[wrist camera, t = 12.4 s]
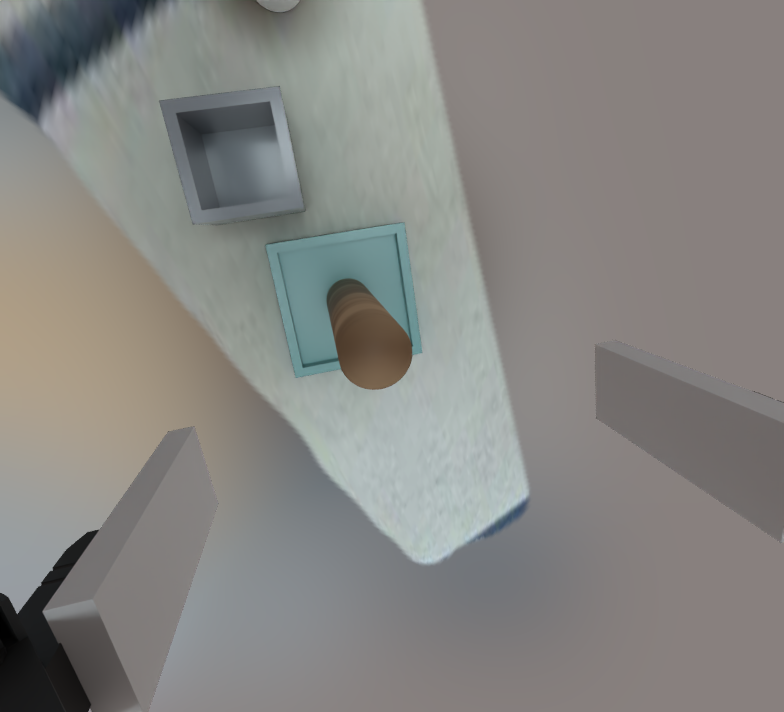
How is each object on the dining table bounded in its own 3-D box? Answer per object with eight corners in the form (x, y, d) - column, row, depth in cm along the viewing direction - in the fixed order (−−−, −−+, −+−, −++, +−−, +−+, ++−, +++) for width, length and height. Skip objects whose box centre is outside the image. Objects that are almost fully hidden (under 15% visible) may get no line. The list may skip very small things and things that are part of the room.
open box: (191, 127, 36) (158, 100, 28) (286, 115, 37) (279, 86, 29) (216, 225, 38) (192, 224, 31) (305, 211, 39) (303, 207, 32)
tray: (267, 244, 39) (265, 244, 38) (400, 222, 41) (404, 222, 39) (296, 371, 43) (295, 377, 41) (418, 348, 44) (422, 352, 43)
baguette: (322, 282, 40) (332, 325, 23) (366, 274, 41) (406, 311, 24) (330, 325, 41) (345, 396, 24) (373, 317, 42) (416, 381, 25)
